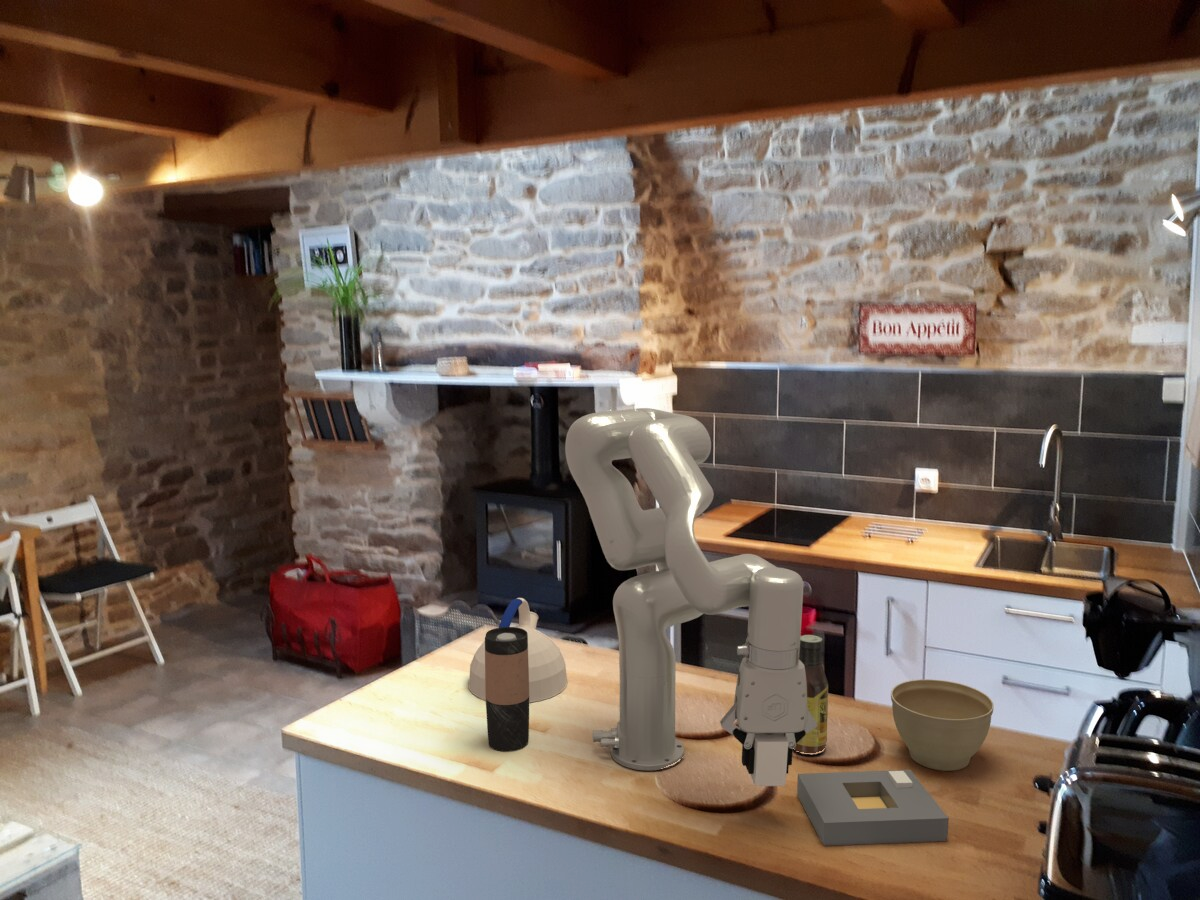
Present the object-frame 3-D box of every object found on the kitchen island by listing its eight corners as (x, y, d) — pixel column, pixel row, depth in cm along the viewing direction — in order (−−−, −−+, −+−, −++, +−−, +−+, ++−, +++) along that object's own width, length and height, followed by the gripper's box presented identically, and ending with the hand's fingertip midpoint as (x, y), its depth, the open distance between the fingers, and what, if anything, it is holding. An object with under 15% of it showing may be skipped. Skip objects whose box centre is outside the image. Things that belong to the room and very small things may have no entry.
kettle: (578, 669, 196) (578, 587, 193) (552, 709, 176) (550, 619, 173) (489, 661, 201) (487, 581, 198) (452, 700, 181) (450, 611, 178)
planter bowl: (898, 729, 167) (900, 672, 165) (994, 749, 159) (998, 689, 158) (879, 768, 153) (882, 706, 151) (984, 791, 145) (988, 726, 144)
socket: (823, 845, 131) (824, 817, 130) (797, 794, 145) (797, 768, 144) (947, 840, 132) (948, 812, 131) (909, 790, 146) (910, 765, 145)
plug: (755, 786, 134) (758, 731, 133) (746, 764, 140) (749, 712, 139) (785, 785, 135) (788, 731, 133) (775, 764, 140) (778, 712, 139)
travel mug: (539, 741, 163) (537, 633, 160) (506, 757, 157) (504, 645, 154) (510, 728, 168) (508, 623, 165) (477, 743, 163) (474, 634, 160)
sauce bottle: (827, 759, 156) (830, 647, 153) (789, 755, 157) (792, 644, 154) (825, 741, 162) (829, 633, 159) (789, 738, 164) (792, 631, 161)
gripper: (720, 664, 129) (714, 783, 133) (837, 663, 130) (829, 782, 134) (710, 643, 137) (705, 757, 140) (822, 643, 138) (814, 755, 141)
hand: (766, 767), depth 137 cm, fingers closed on plug, 4 cm apart
